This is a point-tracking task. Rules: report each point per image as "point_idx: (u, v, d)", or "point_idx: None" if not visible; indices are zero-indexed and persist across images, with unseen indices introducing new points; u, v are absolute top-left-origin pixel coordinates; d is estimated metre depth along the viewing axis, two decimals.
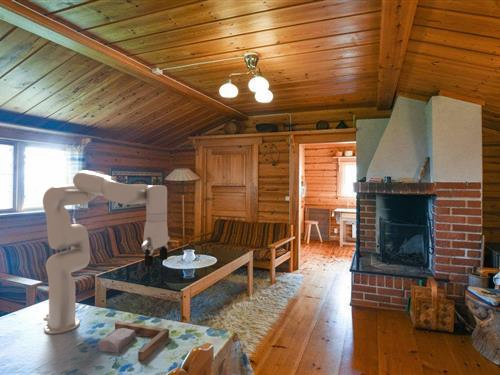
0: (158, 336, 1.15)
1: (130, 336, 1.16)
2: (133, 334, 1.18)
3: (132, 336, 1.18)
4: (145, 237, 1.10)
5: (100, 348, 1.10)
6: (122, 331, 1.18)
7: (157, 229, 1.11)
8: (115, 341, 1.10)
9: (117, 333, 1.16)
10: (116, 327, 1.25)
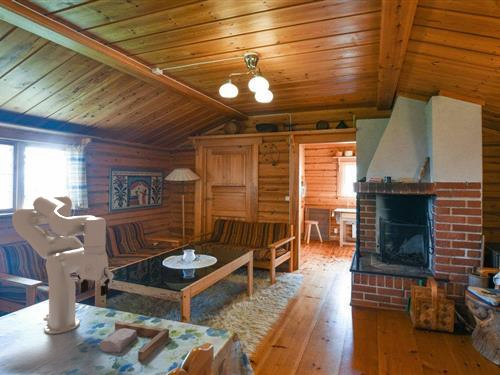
0: (158, 336, 1.15)
1: (132, 336, 1.16)
2: (135, 334, 1.18)
3: (134, 336, 1.18)
4: (102, 268, 1.15)
5: (102, 348, 1.10)
6: (123, 331, 1.18)
7: None
8: (117, 341, 1.10)
9: (118, 333, 1.16)
10: (116, 327, 1.25)
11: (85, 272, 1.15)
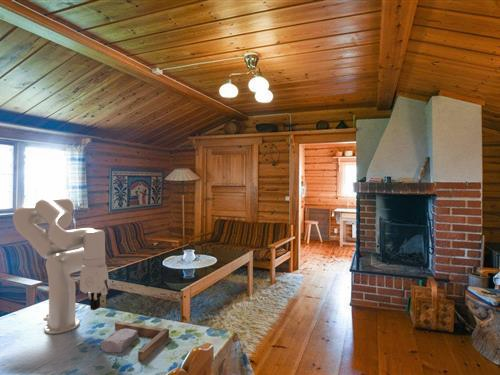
0: (158, 336, 1.15)
1: (133, 336, 1.16)
2: (136, 334, 1.18)
3: (135, 336, 1.18)
4: (102, 281, 1.15)
5: (103, 348, 1.10)
6: (125, 331, 1.18)
7: None
8: (118, 341, 1.10)
9: (120, 333, 1.16)
10: (116, 327, 1.25)
11: (85, 285, 1.15)
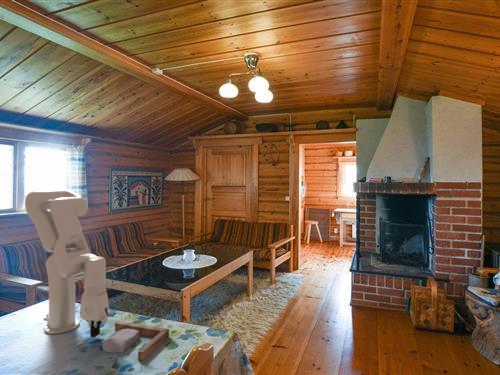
0: (158, 336, 1.15)
1: (134, 336, 1.16)
2: (137, 334, 1.18)
3: (137, 337, 1.18)
4: (103, 309, 1.15)
5: (105, 349, 1.10)
6: (126, 331, 1.18)
7: None
8: (120, 341, 1.10)
9: (121, 334, 1.16)
10: (116, 327, 1.25)
11: (86, 313, 1.15)
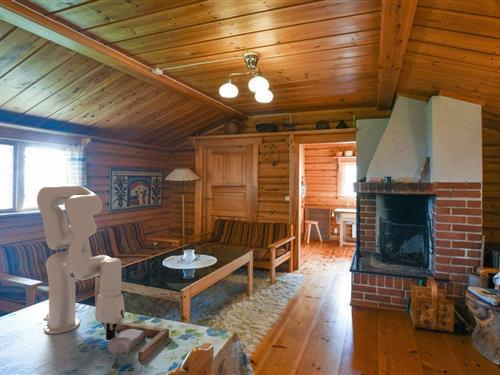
0: (158, 336, 1.15)
1: (139, 337, 1.16)
2: (142, 334, 1.18)
3: (141, 337, 1.17)
4: (119, 311, 1.13)
5: (110, 349, 1.09)
6: (131, 332, 1.17)
7: None
8: (125, 341, 1.09)
9: (126, 334, 1.16)
10: (116, 327, 1.25)
11: (101, 315, 1.14)
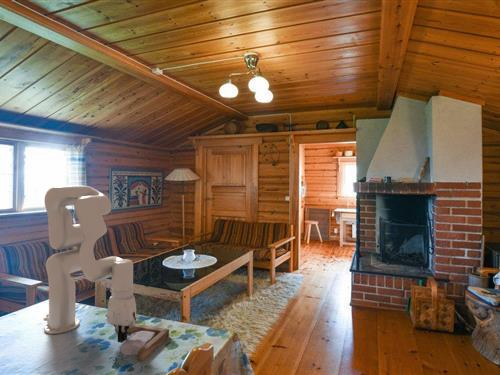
0: (158, 336, 1.15)
1: (152, 338, 1.15)
2: (154, 336, 1.17)
3: None
4: (131, 313, 1.12)
5: (123, 352, 1.08)
6: (142, 334, 1.16)
7: None
8: (139, 343, 1.08)
9: (138, 336, 1.14)
10: None
11: (113, 317, 1.12)
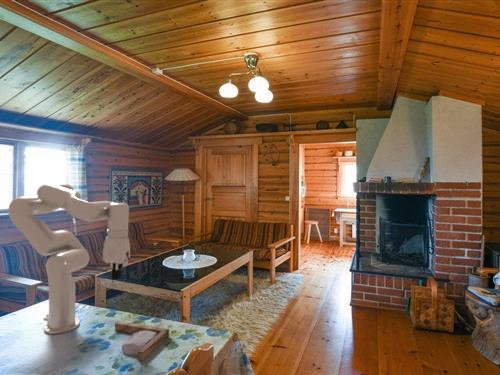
0: (158, 336, 1.15)
1: None
2: None
3: None
4: (124, 252, 1.18)
5: (124, 351, 1.09)
6: (144, 333, 1.16)
7: None
8: (140, 343, 1.08)
9: (140, 336, 1.15)
10: (116, 327, 1.25)
11: (108, 255, 1.19)
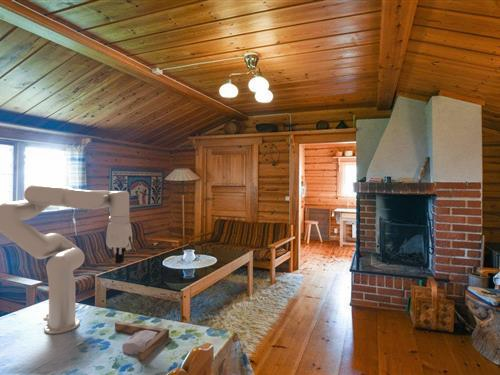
0: (158, 336, 1.15)
1: None
2: None
3: None
4: (127, 237, 1.26)
5: (125, 351, 1.09)
6: (145, 333, 1.17)
7: None
8: (140, 343, 1.09)
9: (141, 335, 1.15)
10: (116, 327, 1.25)
11: (111, 240, 1.26)
